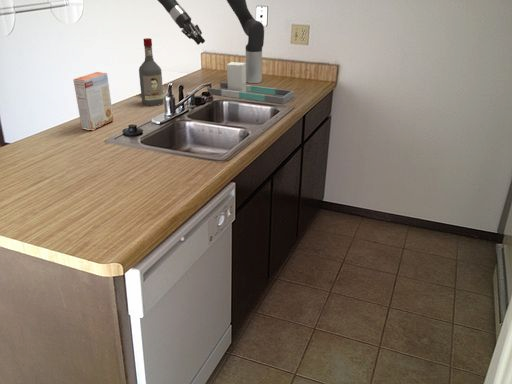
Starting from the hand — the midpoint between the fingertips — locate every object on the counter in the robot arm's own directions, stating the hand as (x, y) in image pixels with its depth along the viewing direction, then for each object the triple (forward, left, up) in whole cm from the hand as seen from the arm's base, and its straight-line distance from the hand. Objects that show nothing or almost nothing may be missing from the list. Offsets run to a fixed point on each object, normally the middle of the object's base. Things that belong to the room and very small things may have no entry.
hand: (201, 42), depth 244 cm
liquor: (+35, -8, -24) cm, 43 cm away
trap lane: (0, +28, -24) cm, 37 cm away
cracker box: (+73, -9, -24) cm, 77 cm away
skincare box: (0, +20, -24) cm, 31 cm away
